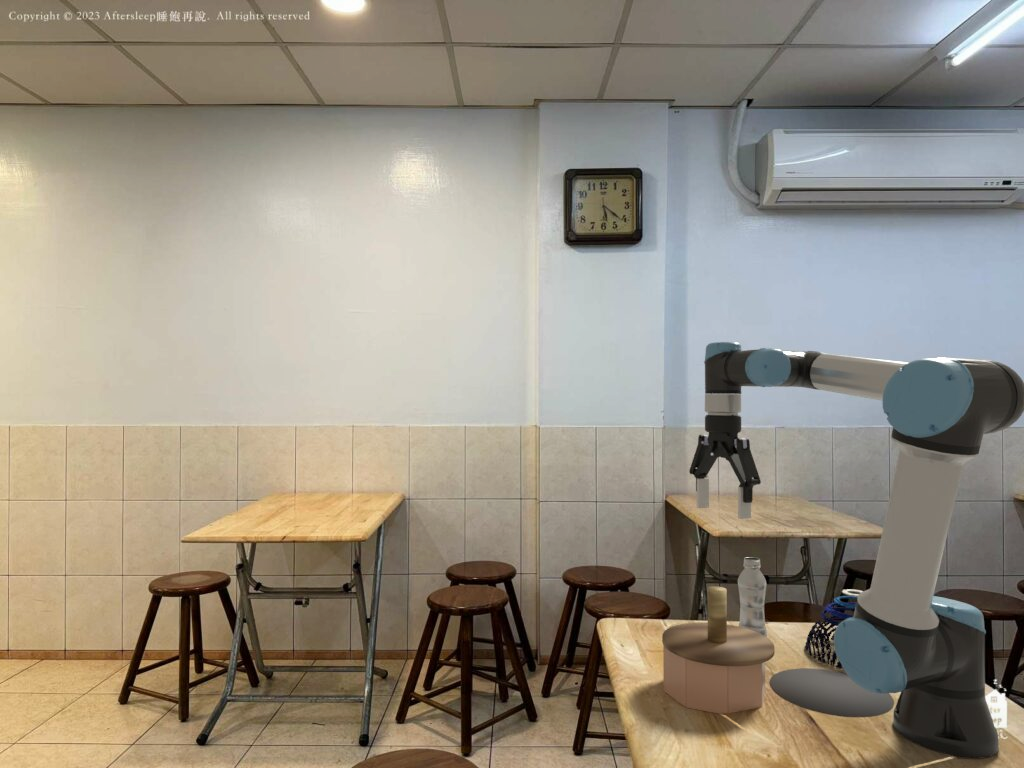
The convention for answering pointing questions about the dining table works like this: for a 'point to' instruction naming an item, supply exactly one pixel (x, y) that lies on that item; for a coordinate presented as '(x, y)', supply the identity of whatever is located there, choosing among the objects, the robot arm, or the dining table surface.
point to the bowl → (713, 684)
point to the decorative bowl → (831, 620)
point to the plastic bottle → (752, 596)
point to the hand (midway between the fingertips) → (722, 512)
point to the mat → (829, 693)
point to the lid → (718, 638)
